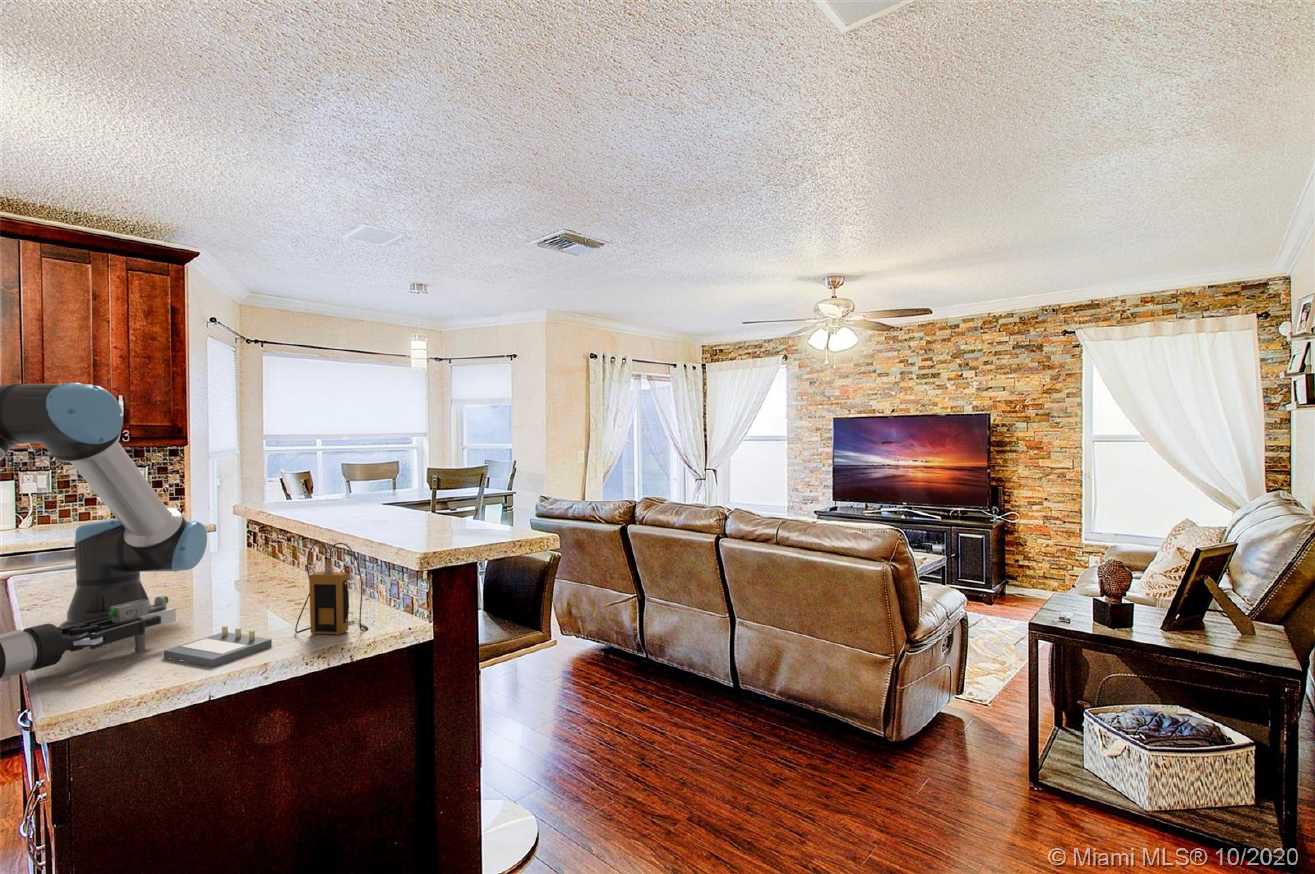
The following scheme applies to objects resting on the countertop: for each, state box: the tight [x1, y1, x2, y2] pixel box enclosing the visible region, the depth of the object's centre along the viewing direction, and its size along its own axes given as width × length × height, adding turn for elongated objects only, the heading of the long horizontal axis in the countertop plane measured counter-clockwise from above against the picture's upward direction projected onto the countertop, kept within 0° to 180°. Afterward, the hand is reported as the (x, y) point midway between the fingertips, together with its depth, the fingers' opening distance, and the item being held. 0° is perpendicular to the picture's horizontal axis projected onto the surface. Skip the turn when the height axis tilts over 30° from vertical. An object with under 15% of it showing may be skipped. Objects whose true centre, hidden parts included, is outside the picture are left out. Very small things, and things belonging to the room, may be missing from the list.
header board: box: [163, 625, 273, 668], centre depth 129 cm, size 14×12×4 cm
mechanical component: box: [108, 595, 169, 652], centre depth 130 cm, size 3×10×10 cm, turn 160°
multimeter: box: [294, 541, 369, 636], centre depth 144 cm, size 15×10×20 cm
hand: (168, 613), depth 135 cm, fingers closed on mechanical component, 3 cm apart
